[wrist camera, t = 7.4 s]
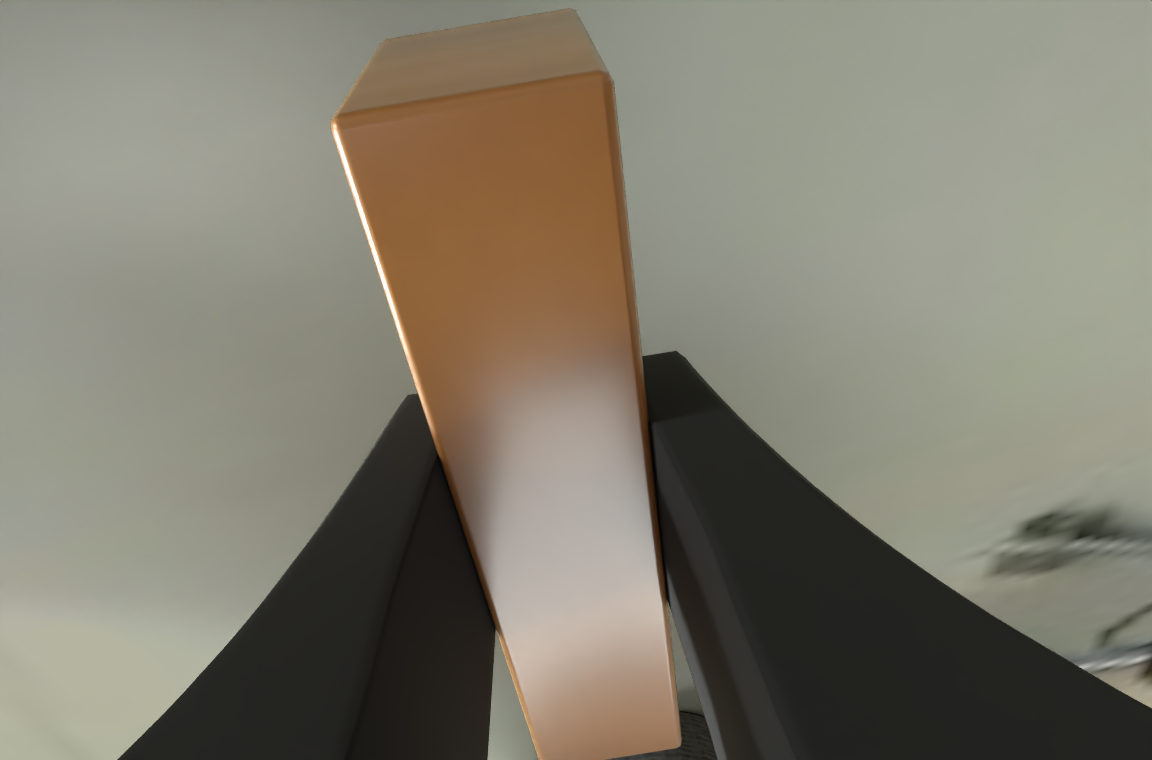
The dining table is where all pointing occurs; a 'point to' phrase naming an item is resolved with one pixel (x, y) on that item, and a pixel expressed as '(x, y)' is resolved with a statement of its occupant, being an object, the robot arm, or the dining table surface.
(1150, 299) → the dining table surface
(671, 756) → the coffee cup
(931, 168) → the dining table surface
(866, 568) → the robot arm
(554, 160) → the stick
